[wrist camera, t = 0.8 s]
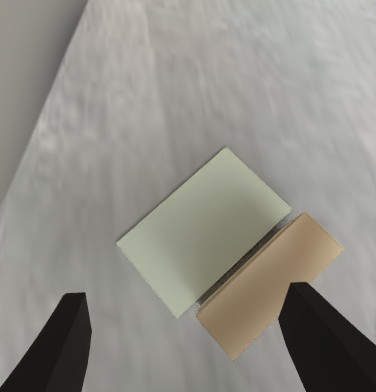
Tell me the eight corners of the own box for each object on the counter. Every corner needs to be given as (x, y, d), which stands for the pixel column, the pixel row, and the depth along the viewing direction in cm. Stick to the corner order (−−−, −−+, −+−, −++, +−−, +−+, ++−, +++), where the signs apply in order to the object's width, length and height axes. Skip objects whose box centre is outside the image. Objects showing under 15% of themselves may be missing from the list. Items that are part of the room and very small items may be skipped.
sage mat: (291, 209, 25) (292, 209, 24) (177, 318, 23) (177, 319, 23) (225, 148, 27) (225, 146, 26) (116, 243, 25) (115, 243, 25)
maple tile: (306, 257, 24) (344, 248, 17) (226, 336, 22) (232, 361, 16) (279, 230, 24) (305, 211, 18) (200, 305, 23) (195, 316, 16)
